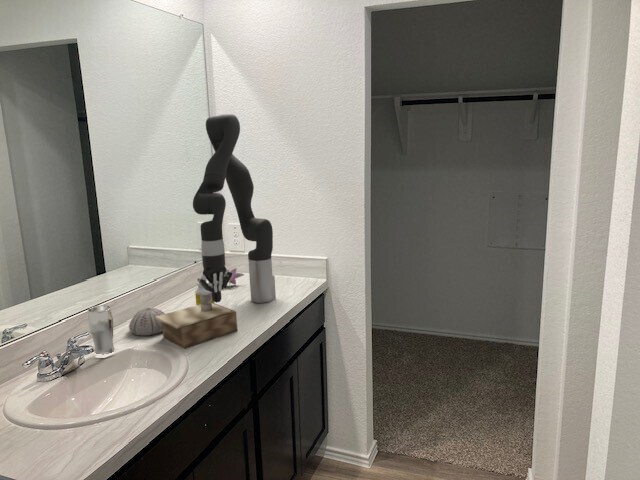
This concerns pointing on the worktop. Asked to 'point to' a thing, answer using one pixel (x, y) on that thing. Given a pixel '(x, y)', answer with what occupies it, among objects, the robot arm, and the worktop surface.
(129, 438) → the worktop surface
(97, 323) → the beer glass
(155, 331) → the sea urchin shell
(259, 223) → the robot arm
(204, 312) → the lid
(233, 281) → the lily
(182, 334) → the walnut box
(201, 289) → the supplement bottle
